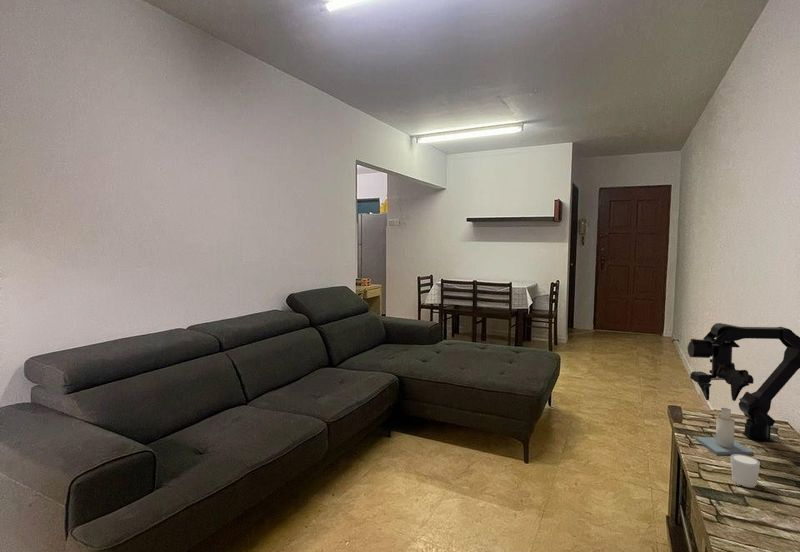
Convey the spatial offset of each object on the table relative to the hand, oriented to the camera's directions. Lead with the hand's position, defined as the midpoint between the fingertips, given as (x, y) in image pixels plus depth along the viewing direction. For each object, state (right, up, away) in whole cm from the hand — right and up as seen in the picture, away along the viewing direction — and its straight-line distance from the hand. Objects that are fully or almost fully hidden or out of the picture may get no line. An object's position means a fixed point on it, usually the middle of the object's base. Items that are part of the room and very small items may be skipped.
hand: (720, 400), depth 157 cm
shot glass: (-16, -16, -30) cm, 37 cm away
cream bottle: (-5, -13, -9) cm, 16 cm away
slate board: (-5, -14, -8) cm, 17 cm away
